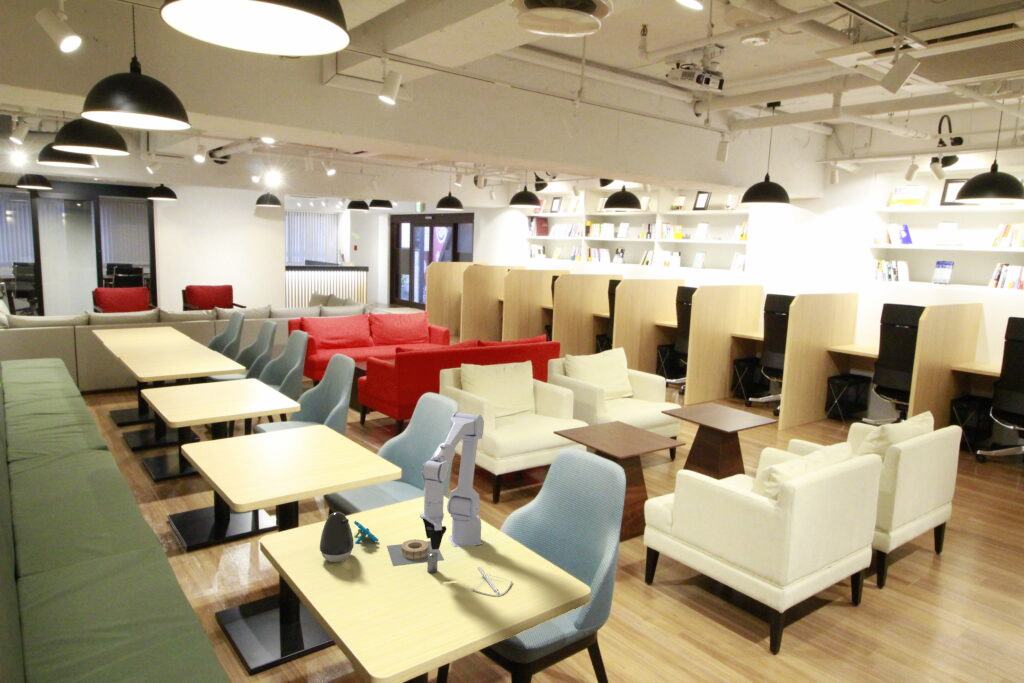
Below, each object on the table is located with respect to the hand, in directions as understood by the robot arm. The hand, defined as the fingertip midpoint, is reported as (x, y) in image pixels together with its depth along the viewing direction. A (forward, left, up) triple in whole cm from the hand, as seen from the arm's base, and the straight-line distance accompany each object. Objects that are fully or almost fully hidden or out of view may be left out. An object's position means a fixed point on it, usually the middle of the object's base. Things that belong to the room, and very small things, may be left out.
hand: (432, 543), depth 196 cm
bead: (+3, -13, -9) cm, 16 cm away
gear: (+17, -26, -10) cm, 33 cm away
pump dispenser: (+27, -16, -10) cm, 33 cm away
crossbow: (-15, +10, -10) cm, 21 cm away
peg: (0, 0, -9) cm, 9 cm away
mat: (+3, -13, -9) cm, 16 cm away
